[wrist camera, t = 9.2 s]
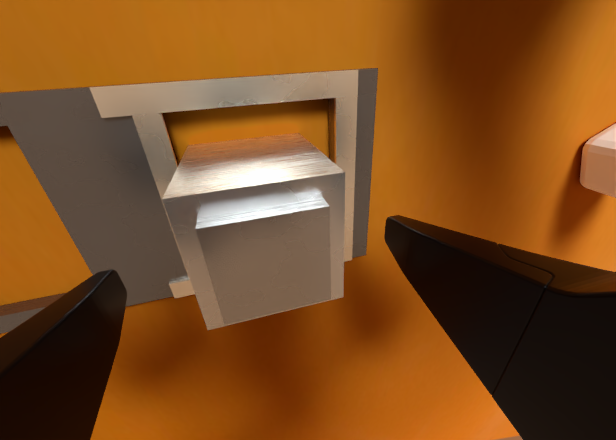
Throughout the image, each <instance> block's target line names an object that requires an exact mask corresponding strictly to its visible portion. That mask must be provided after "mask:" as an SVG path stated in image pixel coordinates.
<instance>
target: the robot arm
mask: <svg viewBox="0 0 616 440" xmlns="http://www.w3.org/2000/svg"><path fill="white" fill-rule="evenodd" d="M385 242H386V244H387V245H388V247H389V249H390V251H391V253H392V254H393V256H394V258H395V260H396V261H397V263H398V265H399V267H400V268H401V270H402V272H403V273H404V275H405V276H406V278H407V279H408V281H409V282H410V284H411V285H412V286H413V288H414V289H415V290H416V292H417V293H418V295H419V296H420V297H421V299H422V300H423V301H424V303H425V304H426V306H427V307H428V308H429V310H430V311H431V313H432V314H433V315H434V317H435V318H436V319H437V321H438V322H439V324H440V325H441V326H442V328H443V329H444V331H445V332H446V333H447V335H448V336H449V337H450V339H451V340H452V342H453V343H454V344H455V346H456V347H457V349H458V350H459V351H460V353H461V354H462V355H463V357H464V358H465V360H466V361H467V362H468V364H469V365H470V367H471V368H472V369H473V371H474V372H475V373H476V375H477V376H478V378H479V379H480V380H481V382H482V383H483V385H484V386H485V387H486V389H487V390H488V391H489V393H490V394H491V395H492V397H493V399H494V400H495V401H496V403H497V404H498V406H499V407H500V408H501V410H502V411H503V413H504V414H505V415H506V417H507V418H508V419H509V421H510V422H511V424H512V425H513V426H514V428H515V429H516V430H517V432H518V433H519V435H520V436H521V437H522V439H523V440H616V272H612V271H607V270H602V269H598V268H594V267H590V266H585V265H581V264H577V263H573V262H568V261H564V260H560V259H556V258H552V257H548V256H543V255H539V254H535V253H531V252H528V251H524V250H520V249H517V248H513V247H509V246H506V245H502V244H497V243H495V242H491V241H488V240H484V239H481V238H477V237H474V236H470V235H467V234H463V233H460V232H456V231H452V230H449V229H445V228H442V227H438V226H435V225H431V224H428V223H424V222H421V221H417V220H414V219H410V218H407V217H403V216H399V215H396V216H390V217H388V218H387V220H386V226H385ZM126 301H127V290H126V288H125V286H124V284H123V282H122V280H121V278H120V276H119V274H118V272H117V271H116V270H113V269H110V270H105V271H100V272H97V273H96V274H94V275H93V276H91V277H90V278H88V279H87V280H85V281H84V282H82V283H81V284H80V285H78V286H77V287H75V288H74V289H72V290H71V291H69V292H68V293H66V294H65V295H63V296H62V297H60V298H59V299H57V300H56V301H54V302H53V303H51V304H50V305H48V306H47V307H45V308H44V309H42V310H41V311H39V312H38V313H37V314H35V315H34V316H32V317H31V318H29V319H28V320H26V321H25V322H23V323H22V324H20V325H19V326H17V327H16V328H14V329H13V330H11V331H10V332H8V333H7V334H5V335H4V336H2V337H1V338H0V440H90V438H91V435H92V432H93V428H94V425H95V422H96V418H97V415H98V412H99V409H100V405H101V402H102V399H103V395H104V392H105V389H106V385H107V382H108V379H109V375H110V372H111V369H112V365H113V362H114V359H115V355H116V352H117V348H118V345H119V341H120V336H121V330H122V324H123V319H124V313H125V307H126Z"/></svg>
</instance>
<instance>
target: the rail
mask: <svg viewBox="0 0 616 440" xmlns="http://www.w3.org/2000/svg"><path fill="white" fill-rule="evenodd" d="M377 75H378V68H368V69H353V70H337V71H322V72H307V73H292V74H277V75H262V76H247V77H232V78H216V79H201V80H186V81H171V82H156V83H141V84H126V85H111V86H95V87H80V88H65V89H50V90H35V91H20V92H5V93H0V126H8V128H9V129H10V131H11V133H12V135H13V136H14V138H15V140H16V142H17V143H18V145H19V147H20V149H21V150H22V152H23V154H24V156H25V157H26V159H27V161H28V163H29V164H30V166H31V168H32V170H33V171H34V173H35V175H36V177H37V178H38V180H39V182H40V184H41V185H42V187H43V189H44V190H45V192H46V194H47V196H48V197H49V199H50V201H51V203H52V204H53V206H54V208H55V210H56V211H57V213H58V215H59V217H60V218H61V220H62V222H63V224H64V225H65V227H66V229H67V231H68V232H69V234H70V236H71V238H72V239H73V241H74V243H75V245H76V246H77V248H78V250H79V252H80V253H81V255H82V257H83V258H84V260H85V262H86V264H87V265H88V267H89V269H90V271H91V272H92V274H93V275H94V274H96V273H97V272H100V271H105V270H110V269H113V270H116V271H117V272H118V274H119V276H120V278H121V280H122V282H123V284H124V286H125V288H126V290H127V301H126V306H131V305H135V304H140V303H145V302H149V301H154V300H159V299H163V298H168V297H173V296H174V298H180V297H184V296H189V295H193V294H195V292H194V289H193V287H192V284H191V281H190V278H189V275H188V272H187V269H186V267H185V264H184V261H183V258H182V255H181V252H180V249H179V247H178V244H177V241H176V238H175V235H174V232H173V230H172V227H171V224H170V221H169V218H168V215H167V212H166V210H165V207H164V204H163V201H162V198H163V196H164V194H165V192H166V190H167V188H168V186H169V184H170V182H171V180H172V178H173V176H174V174H175V172H176V169H177V167H178V165H177V161H176V158H175V155H174V151H173V148H172V145H171V141H170V138H169V134H168V131H167V128H166V124H165V121H164V118H163V114H162V113H166V112H177V111H189V110H200V109H211V108H223V107H234V106H246V105H257V104H269V103H280V102H292V101H303V100H315V99H326V98H328V104H329V159H330V160H331V161H332V162H334V163H335V164H336V165H337V166H338V167H340V168H341V169H342V170H343V171H344V172H345V228H344V262H346V261H350V260H352V258H354V257H358V256H363V255H366V247H367V232H368V216H369V200H370V185H371V169H372V153H373V138H374V122H375V106H376V91H377ZM65 294H66V293H63V294H58V295H53V296H48V297H43V298H38V299H33V300H28V301H23V302H18V303H13V304H7V305H2V306H0V333H5V332H10V331H11V330H13V329H14V328H16V327H17V326H19V325H20V324H22V323H23V322H25V321H26V320H28V319H29V318H31V317H32V316H34V315H35V314H37V313H38V312H39V311H41V310H42V309H44V308H45V307H47V306H48V305H50V304H51V303H53V302H54V301H56V300H57V299H59V298H60V297H62V296H63V295H65Z"/></svg>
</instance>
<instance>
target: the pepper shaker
mask: <svg viewBox="0 0 616 440" xmlns="http://www.w3.org/2000/svg"><path fill="white" fill-rule="evenodd" d="M580 183H581V185H582V186H584V187H585V188H587V189H590V190H593V191H596V192H599V193H603V194H606V195H609V196H612V197H615V198H616V123H615V124H613V125H612V126H610V127H608V128H607V129H605V130H604V131H602V132H600V133H599V134H597V135H595V136H594V137H592V138H590V139H589V140H588V141H587V142H586V143H585V145H584V147H583V150H582V161H581V172H580Z"/></svg>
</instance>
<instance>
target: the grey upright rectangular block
mask: <svg viewBox="0 0 616 440" xmlns="http://www.w3.org/2000/svg"><path fill="white" fill-rule="evenodd" d="M162 201H163V204H164V207H165V210H166V212H167V215H168V218H169V221H170V224H171V227H172V230H173V232H174V235H175V238H176V241H177V244H178V247H179V249H180V252H181V255H182V258H183V261H184V264H185V267H186V269H187V272H188V275H189V278H190V281H191V284H192V287H193V289H194V292H195V295H196V298H197V301H198V304H199V307H200V309H201V312H202V315H203V318H204V321H205V324H206V327H207V329H208V330H211V329H215V328H219V327H223V326H228V325H232V324H236V323H240V322H244V321H248V320H252V319H256V318H260V317H264V316H268V315H273V314H277V313H281V312H285V311H289V310H293V309H297V308H301V307H305V306H309V305H313V304H317V303H322V302H326V301H330V300H334V299H338V298H342V297H344V228H345V172H344V171H343V170H342V169H341V168H340V167H338V166H337V165H336V164H335V163H334V162H332V161H331V160H330V159H329V158H328V157H326V156H325V155H324V154H323V153H322V152H321V151H319V150H318V149H317V148H316V147H315V146H313V145H312V144H311V143H310V142H309V141H307V140H306V139H305V138H304V137H303V136H301V135H300V134H299V133H294V134H285V135H276V136H267V137H258V138H249V139H240V140H231V141H222V142H214V143H205V144H196V145H188V147H187V149H186V151H185V153H184V155H183V157H182V159H181V161H180V163H179V165H178V167H177V169H176V172H175V174H174V176H173V178H172V180H171V182H170V184H169V186H168V188H167V190H166V192H165V194H164V196H163V198H162Z"/></svg>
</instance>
